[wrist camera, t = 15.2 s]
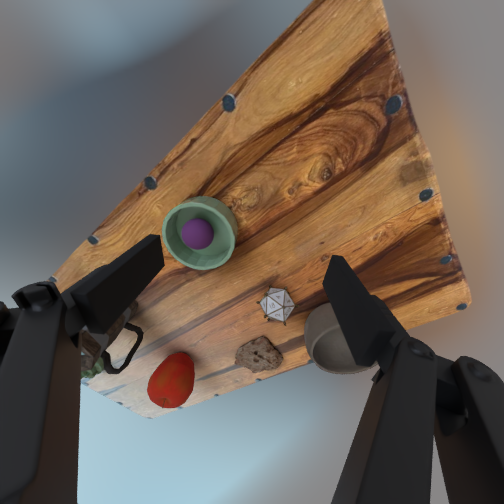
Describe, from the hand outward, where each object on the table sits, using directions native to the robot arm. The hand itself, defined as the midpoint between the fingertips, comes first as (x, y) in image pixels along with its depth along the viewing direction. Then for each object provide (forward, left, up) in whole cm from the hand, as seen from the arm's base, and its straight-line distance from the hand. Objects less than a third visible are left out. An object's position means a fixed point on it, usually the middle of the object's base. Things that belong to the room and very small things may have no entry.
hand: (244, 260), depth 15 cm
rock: (+48, +5, -24) cm, 54 cm away
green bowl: (+8, -10, -24) cm, 27 cm away
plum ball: (+7, -10, -20) cm, 24 cm away
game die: (+23, +7, -24) cm, 34 cm away
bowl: (+29, +23, -24) cm, 44 cm away
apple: (+53, -19, -24) cm, 61 cm away
